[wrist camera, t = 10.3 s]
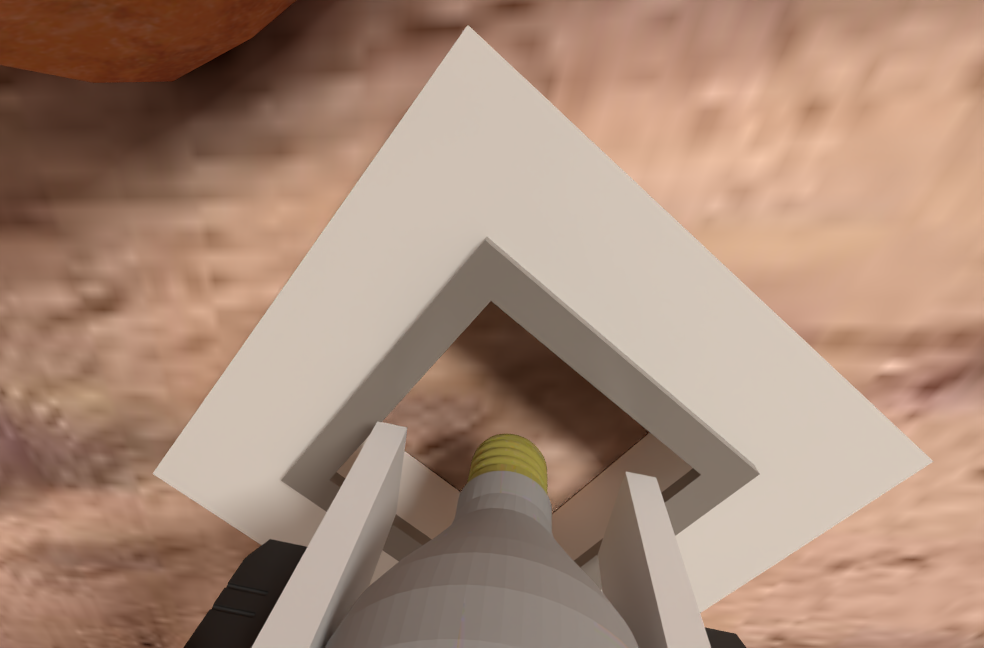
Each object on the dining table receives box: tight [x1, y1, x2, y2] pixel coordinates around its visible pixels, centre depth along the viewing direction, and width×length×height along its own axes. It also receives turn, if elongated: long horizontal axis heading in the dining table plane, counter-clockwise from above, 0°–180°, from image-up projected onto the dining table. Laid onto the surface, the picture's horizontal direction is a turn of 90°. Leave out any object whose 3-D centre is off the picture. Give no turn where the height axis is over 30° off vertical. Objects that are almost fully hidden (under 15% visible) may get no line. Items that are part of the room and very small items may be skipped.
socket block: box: [153, 25, 933, 613], centre depth 15 cm, size 15×15×3 cm
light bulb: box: [325, 434, 639, 648], centre depth 10 cm, size 6×6×10 cm
